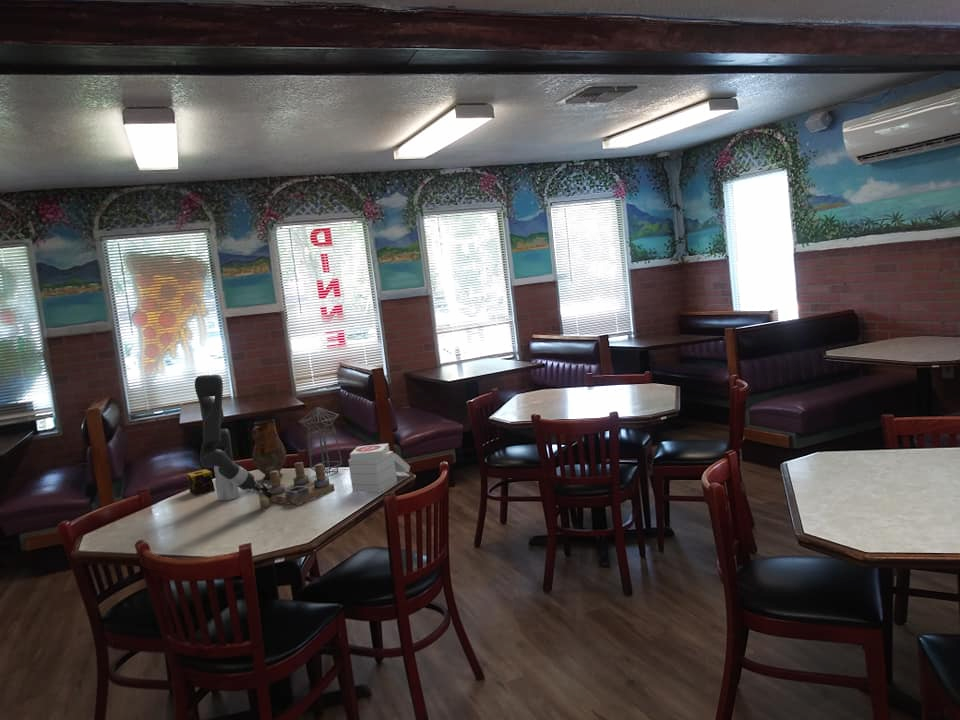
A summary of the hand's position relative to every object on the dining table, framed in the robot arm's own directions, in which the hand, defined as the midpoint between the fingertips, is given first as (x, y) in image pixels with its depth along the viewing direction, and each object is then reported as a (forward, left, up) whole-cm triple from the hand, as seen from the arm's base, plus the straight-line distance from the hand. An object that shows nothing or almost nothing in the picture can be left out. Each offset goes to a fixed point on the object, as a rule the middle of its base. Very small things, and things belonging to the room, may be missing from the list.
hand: (267, 495), depth 327 cm
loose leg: (0, -2, -5) cm, 5 cm away
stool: (+3, +16, -5) cm, 16 cm away
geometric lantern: (-13, +46, -5) cm, 48 cm away
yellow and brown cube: (-60, +5, -5) cm, 60 cm away
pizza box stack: (+29, +42, -5) cm, 51 cm away
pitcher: (-40, +32, -5) cm, 51 cm away
